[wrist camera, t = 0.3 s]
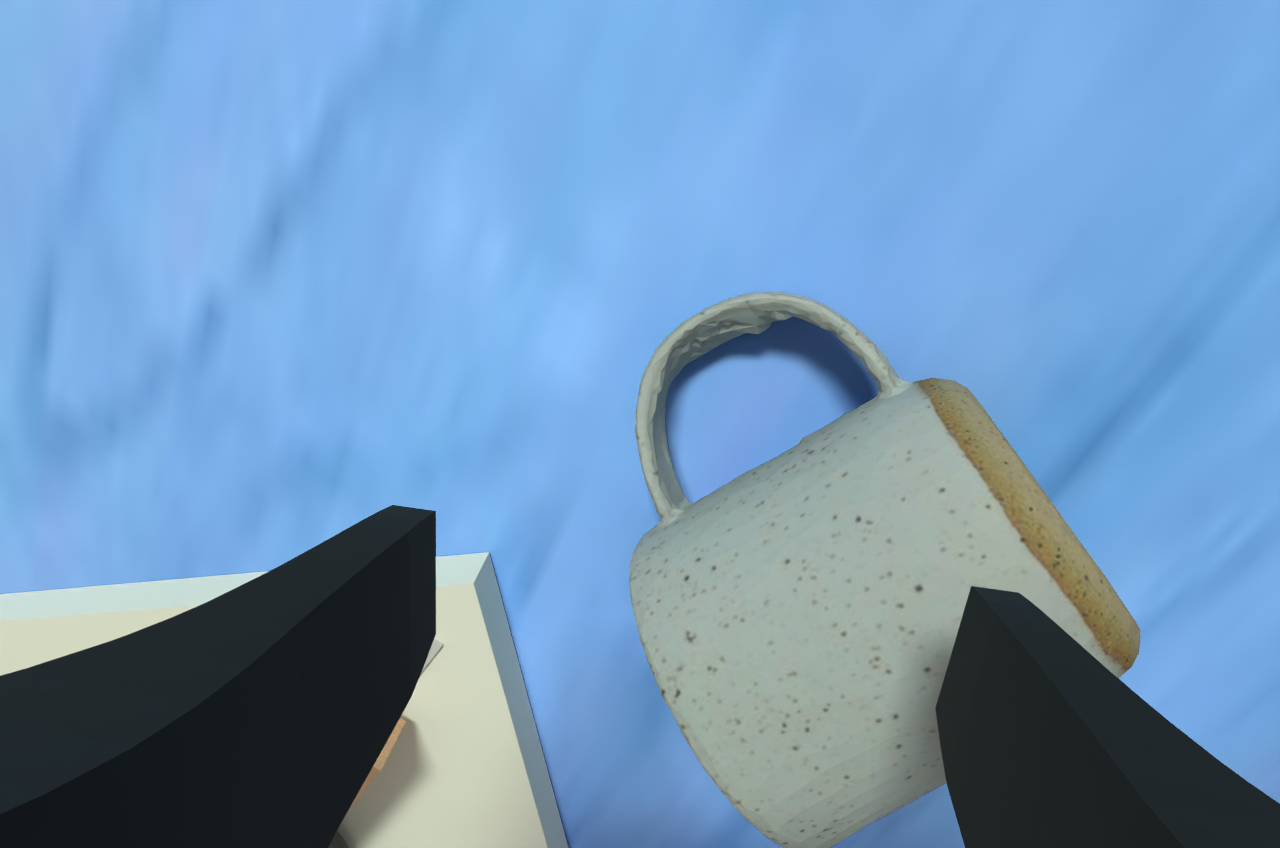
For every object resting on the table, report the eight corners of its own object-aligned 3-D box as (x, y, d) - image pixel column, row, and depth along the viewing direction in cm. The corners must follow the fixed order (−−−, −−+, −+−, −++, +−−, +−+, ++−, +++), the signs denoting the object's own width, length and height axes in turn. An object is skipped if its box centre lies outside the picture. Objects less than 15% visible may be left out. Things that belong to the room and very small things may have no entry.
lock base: (606, 990, 31) (599, 1037, 29) (152, 988, 34) (125, 1031, 32) (489, 552, 24) (472, 585, 22) (-68, 600, 27) (-115, 632, 25)
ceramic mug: (1084, 536, 22) (1242, 766, 15) (811, 685, 24) (833, 940, 17) (835, 195, 19) (880, 275, 12) (563, 403, 22) (472, 566, 15)
